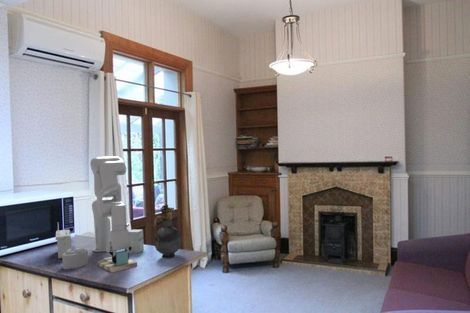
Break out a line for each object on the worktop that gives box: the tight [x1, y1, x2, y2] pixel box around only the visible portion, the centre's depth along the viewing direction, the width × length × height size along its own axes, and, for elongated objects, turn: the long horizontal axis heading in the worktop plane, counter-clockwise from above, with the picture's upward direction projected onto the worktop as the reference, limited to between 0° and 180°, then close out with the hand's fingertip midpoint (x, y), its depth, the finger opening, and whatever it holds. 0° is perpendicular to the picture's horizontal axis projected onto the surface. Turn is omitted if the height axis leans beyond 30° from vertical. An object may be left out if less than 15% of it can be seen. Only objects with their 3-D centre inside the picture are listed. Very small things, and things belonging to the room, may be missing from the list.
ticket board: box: [97, 256, 138, 273], centre depth 196 cm, size 18×14×3 cm
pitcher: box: [153, 204, 182, 259], centre depth 207 cm, size 11×19×30 cm, turn 153°
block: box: [113, 249, 128, 265], centre depth 192 cm, size 5×6×6 cm
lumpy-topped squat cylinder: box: [61, 247, 89, 270], centre depth 199 cm, size 10×13×9 cm
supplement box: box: [128, 229, 145, 254], centre depth 223 cm, size 7×7×13 cm
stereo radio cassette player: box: [55, 223, 72, 260], centre depth 222 cm, size 21×8×20 cm, turn 25°
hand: (120, 261), depth 193 cm, fingers closed on block, 6 cm apart
